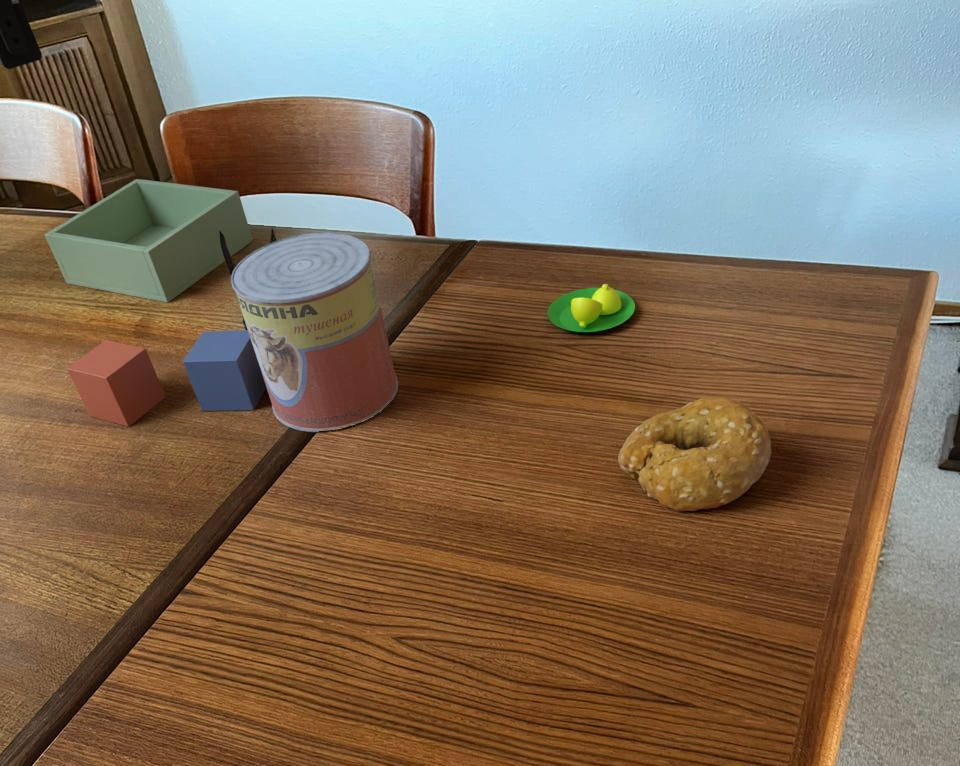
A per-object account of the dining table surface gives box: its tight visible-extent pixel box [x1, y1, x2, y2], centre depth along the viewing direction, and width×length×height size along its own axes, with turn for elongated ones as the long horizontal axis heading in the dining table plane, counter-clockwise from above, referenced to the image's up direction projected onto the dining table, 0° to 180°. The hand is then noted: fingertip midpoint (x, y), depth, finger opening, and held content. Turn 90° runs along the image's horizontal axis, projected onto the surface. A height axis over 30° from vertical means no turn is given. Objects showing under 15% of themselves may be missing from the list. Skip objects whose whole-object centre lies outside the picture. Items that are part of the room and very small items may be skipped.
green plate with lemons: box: [547, 283, 636, 333], centre depth 88 cm, size 8×8×3 cm
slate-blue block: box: [182, 329, 267, 412], centre depth 86 cm, size 5×5×5 cm
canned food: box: [230, 231, 399, 433], centre depth 81 cm, size 11×11×12 cm
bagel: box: [617, 396, 772, 512], centre depth 70 cm, size 10×11×5 cm
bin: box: [44, 178, 254, 303], centre depth 107 cm, size 16×15×6 cm
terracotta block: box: [66, 339, 167, 428], centre depth 87 cm, size 5×5×5 cm
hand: (10, 52), depth 82 cm, fingers open, 9 cm apart
